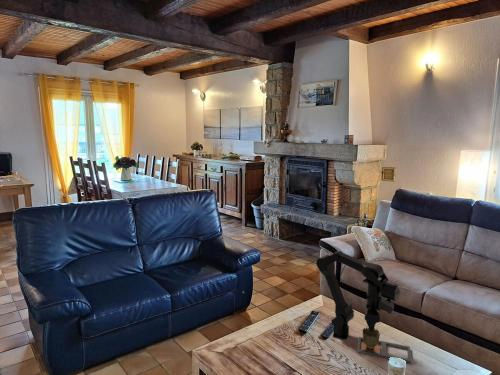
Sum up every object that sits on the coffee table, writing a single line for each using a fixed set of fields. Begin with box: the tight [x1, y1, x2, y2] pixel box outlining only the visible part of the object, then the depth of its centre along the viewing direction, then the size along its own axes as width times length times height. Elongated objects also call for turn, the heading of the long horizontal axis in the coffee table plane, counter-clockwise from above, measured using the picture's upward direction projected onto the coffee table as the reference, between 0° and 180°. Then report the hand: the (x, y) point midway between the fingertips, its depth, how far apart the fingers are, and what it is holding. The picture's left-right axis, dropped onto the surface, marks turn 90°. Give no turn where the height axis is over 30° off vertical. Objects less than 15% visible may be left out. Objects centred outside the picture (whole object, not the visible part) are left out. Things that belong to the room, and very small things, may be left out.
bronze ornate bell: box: [362, 326, 381, 350], centre depth 160 cm, size 8×7×8 cm
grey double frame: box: [356, 336, 412, 364], centre depth 158 cm, size 22×11×1 cm, turn 69°
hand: (372, 326), depth 158 cm, fingers open, 9 cm apart
